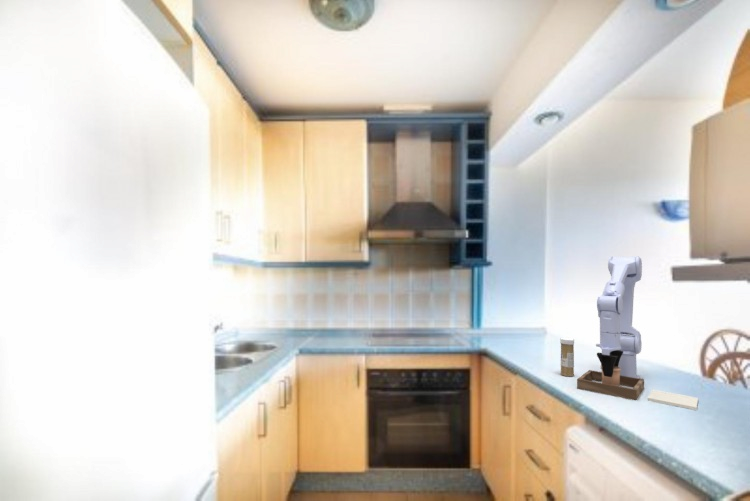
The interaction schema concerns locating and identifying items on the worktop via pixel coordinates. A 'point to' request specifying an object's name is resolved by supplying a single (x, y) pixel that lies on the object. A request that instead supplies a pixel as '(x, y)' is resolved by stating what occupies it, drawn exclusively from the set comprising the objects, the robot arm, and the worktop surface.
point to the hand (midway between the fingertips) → (610, 374)
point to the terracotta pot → (614, 379)
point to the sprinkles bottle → (567, 356)
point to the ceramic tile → (673, 399)
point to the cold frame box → (623, 392)
